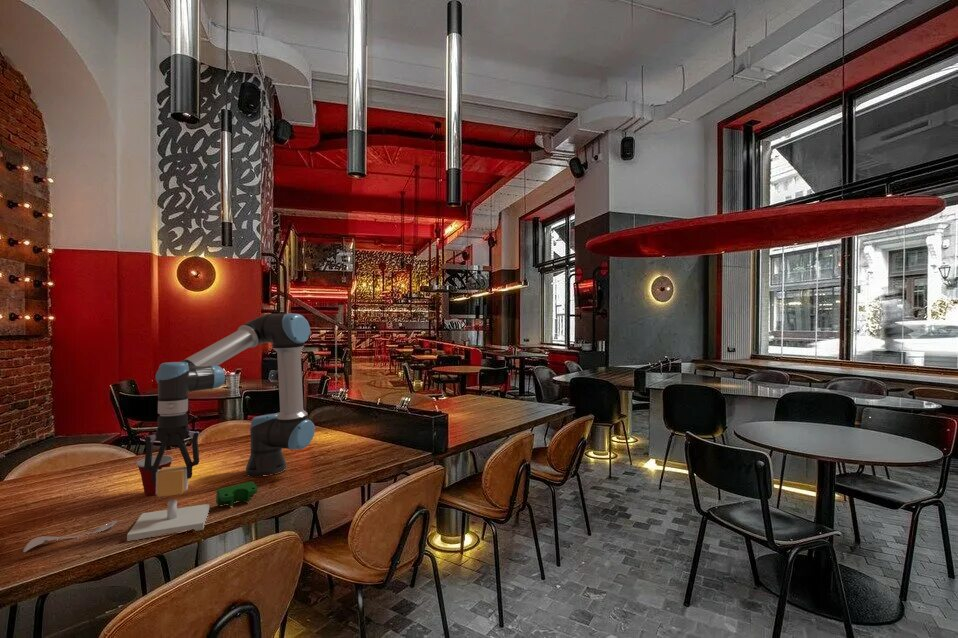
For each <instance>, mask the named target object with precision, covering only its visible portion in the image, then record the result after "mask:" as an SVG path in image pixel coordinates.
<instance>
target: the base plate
mask: <svg viewBox="0 0 958 638" xmlns="http://www.w3.org/2000/svg"><path fill="white" fill-rule="evenodd" d="M166 506H167V507H166V509H162V510H157V511H150V512H142V513H141V515H140V516H139V517H138V519H137V520H136V522H135V523H134V524H133V526H132V527H131V529H130V530H129V531H128V533H127V534H126V538H127V539H126V542H127V541H130V540H135V539H142V538H146V537H151V536H156V535H161V534H165V533H171V532H178V531H185V530H191V529H194V530H195V531H194V532H197V531H202V530H204V528H205V526H204V524H205V525H206V523H205V521H206V522H207V520H206V518H207V519H208V517H209V514H210V512H209V510H210V511H211V503H205V504H198V505H197V504H196V505H191V506H184V507H183V506H182V507H178V500H176V499H175V498H171V499H169V500H168V502H167V505H166ZM208 513H209V514H208ZM207 516H208V517H207Z"/></svg>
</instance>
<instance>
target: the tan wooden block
mask: <svg viewBox="0 0 958 638" xmlns="http://www.w3.org/2000/svg"><path fill="white" fill-rule="evenodd" d="M185 467H186V464H182V465H181V464H180V465H174V466H170V467H163V468H162V469H161V470H160V471H159V472H158V484H157V495H156V497H157V498H161V497H167V496H168V497H169V496H174V495H177V496H178V495H182V494H184V492H185V491H184V468H185Z"/></svg>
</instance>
